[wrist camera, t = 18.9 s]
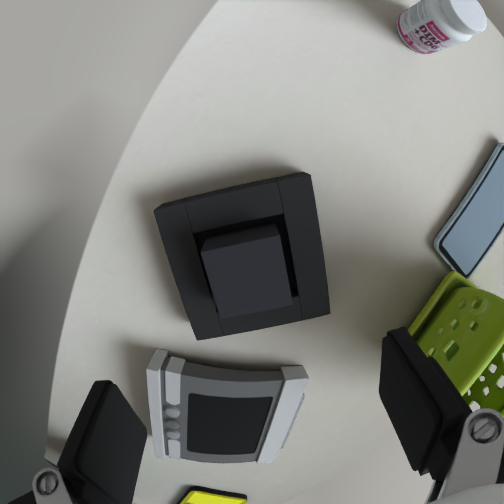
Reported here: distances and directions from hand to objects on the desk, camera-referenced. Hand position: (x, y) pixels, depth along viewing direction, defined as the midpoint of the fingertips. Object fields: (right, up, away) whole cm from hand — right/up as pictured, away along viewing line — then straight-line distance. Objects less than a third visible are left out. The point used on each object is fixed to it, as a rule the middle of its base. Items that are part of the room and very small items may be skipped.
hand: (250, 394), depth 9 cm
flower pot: (+22, -4, +21) cm, 31 cm away
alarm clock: (-3, -14, +24) cm, 28 cm away
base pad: (0, +4, +17) cm, 17 cm away
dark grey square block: (0, +4, +16) cm, 16 cm away
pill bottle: (+15, +25, +10) cm, 31 cm away
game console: (-9, -45, +34) cm, 57 cm away
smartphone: (+25, +9, +16) cm, 31 cm away
